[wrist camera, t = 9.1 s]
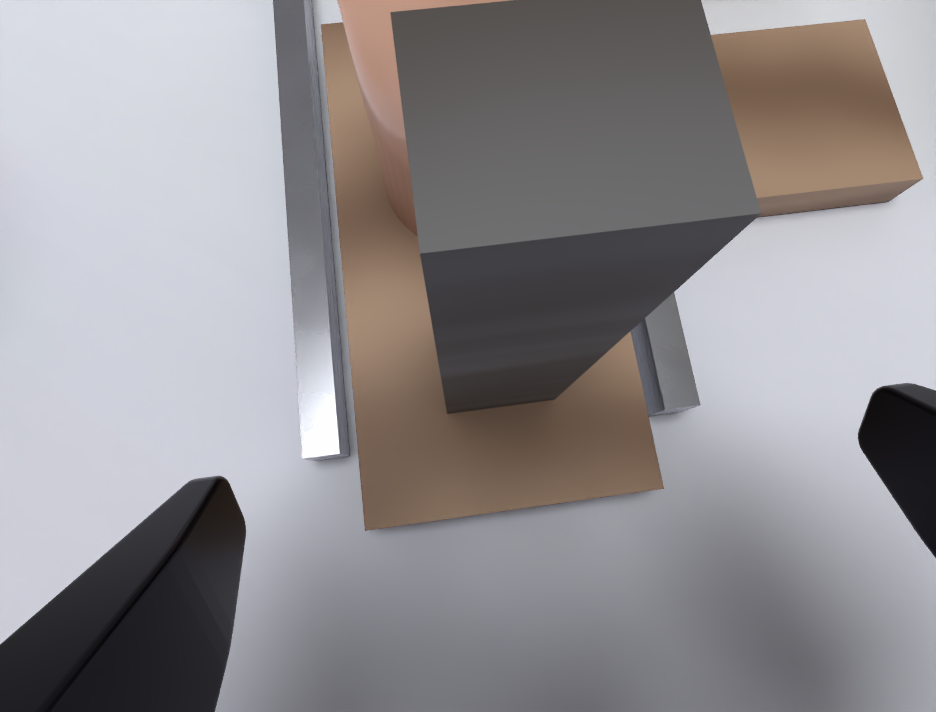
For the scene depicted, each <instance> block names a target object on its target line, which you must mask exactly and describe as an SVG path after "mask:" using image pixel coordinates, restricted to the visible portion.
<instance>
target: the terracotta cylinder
mask: <svg viewBox="0 0 936 712" xmlns="http://www.w3.org/2000/svg"><path fill="white" fill-rule="evenodd" d="M500 1H510V0H338V4H339V8H340V12H341V16H342V20H343V24H344V28H345V32H346V36H347V40H348V43H349V47H350V51H351V55H352V59H353V63H354V67H355V71H356V75H357V79H358V83H359V87H360V91H361V95H362V99H363V103H364V107H365V111H366V114H367V118H368V122H369V126H370V130H371V134H372V138H373V142H374V146H375V150H376V154H377V158H378V162H379V166H380V170H381V174H382V178H383V182H384V185H385V189H386V193H387V196H388V199H389V202H390V205H391V207H392V208H393V210H394V212H395V214H396V215H397V217H398V218H399V219H400V221H401V222H402V223H403V224H404V225H405V226H406V227H407V228H408V229H409V230H410V231H411V232H413V233H414V234H415V235H417V236H418V234H417V226H416V217H415V209H414V201H413V193H412V185H411V177H410V169H409V161H408V152H407V144H406V136H405V128H404V120H403V112H402V104H401V95H400V87H399V79H398V71H397V63H396V55H395V47H394V39H393V30H392V22H391V14H390V12H397V11H407V10H417V9H428V8H438V7H448V6H459V5H469V4H479V3H489V2H500Z"/></svg>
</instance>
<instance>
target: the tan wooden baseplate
mask: <svg viewBox="0 0 936 712" xmlns="http://www.w3.org/2000/svg"><path fill="white" fill-rule="evenodd" d="M390 14H391V22H392V30H393V39H394V47H395V55H396V63H397V71H398V79H399V87H400V95H401V104H402V112H403V120H404V128H405V136H406V144H407V152H408V161H409V169H410V177H411V185H412V193H413V201H414V209H415V217H416V226H417V234H418V236H417V235H415V234H414V233H413V232H411V231H410V230H409V229H408V228H407V227H406V226H405V225H404V224H403V223H402V222H401V221H400V219H399V218H398V217H397V215H396V214H395V212H394V210H393V208H392V207H391V205H390V202H389V199H388V196H387V193H386V189H385V185H384V182H383V178H382V174H381V170H380V166H379V162H378V158H377V154H376V150H375V146H374V142H373V138H372V134H371V130H370V126H369V122H368V118H367V114H366V111H365V107H364V103H363V99H362V95H361V91H360V87H359V83H358V79H357V75H356V71H355V67H354V63H353V59H352V55H351V51H350V47H349V43H348V40H347V36H346V32H345V28H344V24H343V22H342V23H332V24H322V25H321V30H322V42H323V53H324V65H325V76H326V88H327V99H328V111H329V122H330V134H331V145H332V157H333V168H334V179H335V191H336V202H337V214H338V225H339V237H340V248H341V260H342V271H343V283H344V294H345V306H346V317H347V329H348V340H349V352H350V363H351V375H352V386H353V398H354V409H355V421H356V432H357V444H358V455H359V467H360V478H361V490H362V501H363V513H364V524H365V531H367V530H374V529H381V528H388V527H395V526H402V525H409V524H416V523H423V522H430V521H437V520H444V519H452V518H459V517H466V516H473V515H480V514H487V513H494V512H501V511H508V510H515V509H522V508H529V507H537V506H544V505H551V504H558V503H565V502H572V501H579V500H586V499H593V498H600V497H607V496H614V495H622V494H629V493H636V492H643V491H650V490H657V489H664V487H663V483H662V478H661V473H660V468H659V464H658V459H657V454H656V449H655V445H654V440H653V435H652V431H651V426H650V421H649V416H648V412H647V407H646V402H645V397H644V393H643V388H642V383H641V378H640V374H639V369H638V364H637V360H636V355H635V350H634V345H633V341H632V336H631V330H632V329H633V328H635V327H636V326H637V325H638V324H639V323H640V322H641V321H642V320H643V319H645V318H646V317H647V316H648V315H649V314H650V313H651V312H652V311H653V310H655V309H656V308H657V307H658V306H659V305H660V304H661V303H662V302H663V301H664V300H666V299H667V298H668V297H669V296H670V295H671V294H672V293H673V292H674V291H676V290H677V289H678V288H679V287H680V286H681V285H682V284H683V283H684V282H686V281H687V280H688V279H689V278H690V277H691V276H692V275H693V274H694V273H696V272H697V271H698V270H699V269H700V268H701V267H702V266H703V265H704V264H706V263H707V262H708V261H709V260H710V259H711V258H712V257H713V256H714V255H715V254H717V253H718V252H719V251H720V250H721V249H722V248H723V247H724V246H725V245H727V244H728V243H729V242H730V241H731V240H732V239H733V238H734V237H735V236H737V235H738V234H739V233H740V232H741V231H742V230H743V229H744V228H745V227H747V226H748V225H749V224H750V223H751V222H752V221H753V220H754V219H755V218H757V217H758V216H759V215H760V214H761V211H760V207H759V204H758V200H757V197H756V193H755V190H754V186H753V183H752V179H751V176H750V172H749V169H748V165H747V162H746V158H745V154H744V151H743V147H742V144H741V140H740V137H739V133H738V130H737V126H736V123H735V119H734V116H733V112H732V109H731V105H730V102H729V98H728V94H727V91H726V87H725V84H724V80H723V77H722V73H721V70H720V66H719V63H718V59H717V56H716V52H715V49H714V45H713V42H712V38H711V35H710V31H709V27H708V24H707V20H706V17H705V13H704V10H703V6H702V3H701V0H510V1H500V2H489V3H479V4H469V5H459V6H448V7H438V8H428V9H417V10H407V11H397V12H390Z"/></svg>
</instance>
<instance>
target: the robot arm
mask: <svg viewBox="0 0 936 712" xmlns="http://www.w3.org/2000/svg"><path fill="white" fill-rule="evenodd" d="M858 441H859V445H860V447H861V449H862V451H863V453H864V454H865V456H866V457H867V459H868V460H869V462H870V463H871V465H872V466H873V468H874V469H875V471H876V472H877V474H878V475H879V477H880V478H881V480H882V481H883V483H884V484H885V486H886V487H887V489H888V490H889V492H890V493H891V495H892V496H893V498H894V499H895V501H896V502H897V504H898V505H899V507H900V508H901V510H902V511H903V513H904V514H905V516H906V517H907V519H908V520H909V522H910V523H911V525H912V526H913V528H914V529H915V531H916V532H917V533H918V535H919V536H920V538H921V539H922V541H923V542H924V543H925V545H926V546H927V547H928V549H929V550H930V551H931V552H932V554H933V555H934V556H935V558H936V391H935V390H932V389H929V388H926V387H922V386H919V385H916V384H911V383H903V384H895V385H888V386H882V387H880V388H877V389H876V390H875V391H874V392H873V394H872V396H871V398H870V401H869V404H868V406H867V409H866V412H865V415H864V417H863V420H862V423H861V426H860V428H859V432H858ZM245 537H246V526H245V520H244V517H243V514H242V512H241V510H240V507H239V505H238V503H237V500H236V498H235V495H234V493H233V491H232V488H231V486H230V484H229V482H228V480H227V479H226V478H224V477H222V476H213V477H206V478H198V479H194V480H191V481H189V482H188V483H187V484H185V485H184V486H183V487H182V488H181V489H180V490H178V491H177V492H176V493H175V494H174V495H173V496H171V497H170V498H169V499H168V500H167V501H166V502H165V503H163V504H162V505H161V506H160V507H159V508H158V509H156V510H155V511H154V512H153V513H152V514H151V515H149V516H148V517H147V518H146V519H145V520H144V521H143V522H141V523H140V524H139V525H138V526H137V527H136V528H134V529H133V530H132V531H131V532H130V533H129V534H128V535H126V536H125V537H124V538H123V539H122V540H121V541H119V542H118V543H117V544H116V545H115V546H114V547H112V548H111V549H110V550H109V551H108V552H107V553H106V554H104V555H103V556H102V557H101V558H100V559H99V560H97V561H96V562H95V563H94V564H93V565H92V566H91V567H89V568H88V569H87V570H86V571H85V572H84V573H82V574H81V575H80V576H79V577H78V578H77V579H75V580H74V581H73V582H72V583H71V584H70V585H69V586H67V587H66V588H65V589H64V590H63V591H62V592H60V593H59V594H58V595H57V596H56V597H55V598H54V599H52V600H51V601H50V602H49V603H48V604H47V605H45V606H44V607H43V608H42V609H41V610H40V611H38V612H37V613H36V614H35V615H34V616H33V617H32V618H30V619H29V620H28V621H27V622H26V623H25V624H23V625H22V626H21V627H20V628H19V629H18V630H17V631H15V632H14V633H13V634H12V635H11V636H10V637H8V638H7V639H6V640H5V641H4V642H3V643H1V644H0V712H215V709H216V705H217V701H218V697H219V693H220V688H221V684H222V680H223V676H224V672H225V668H226V664H227V659H228V655H229V650H230V645H231V639H232V633H233V626H234V619H235V612H236V604H237V597H238V589H239V582H240V575H241V567H242V560H243V552H244V545H245Z"/></svg>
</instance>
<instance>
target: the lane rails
mask: <svg viewBox="0 0 936 712" xmlns="http://www.w3.org/2000/svg"><path fill="white" fill-rule="evenodd" d="M273 6H274V22H275V38H276V53H277V69H278V85H279V101H280V116H281V132H282V148H283V164H284V179H285V195H286V211H287V227H288V242H289V258H290V274H291V290H292V305H293V321H294V337H295V353H296V368H297V384H298V400H299V416H300V431H301V447H302V459H308V460H313V461H319V460H326V459H333V458H341V457H348V456H350V453H349V441H348V429H347V417H346V405H345V393H344V381H343V369H342V357H341V345H340V333H339V321H338V309H337V297H336V285H335V273H334V261H333V249H332V237H331V225H330V213H329V201H328V189H327V177H326V165H325V153H324V141H323V129H322V117H321V105H320V93H319V81H318V69H317V57H316V45H315V33H314V21H313V9H312V0H273ZM631 336H632V341H633V345H634V350H635V355H636V360H637V364H638V369H639V374H640V378H641V383H642V388H643V393H644V397H645V402H646V407H647V412H648V416H653V415H660V414H668V413H675V412H681V411H684V410H687V409H690V408H693V407H696V406H699V405H700V402H699V397H698V393H697V389H696V385H695V380H694V376H693V372H692V367H691V363H690V359H689V355H688V350H687V346H686V342H685V338H684V333H683V329H682V325H681V321H680V316H679V312H678V308H677V303H676V299H675V295H674V292H673V293H672V294H671V295H670V296H669V297H668V298H667V299H666V300H664V301H663V302H662V303H661V304H660V305H659V306H658V307H657V308H656V309H655V310H653V311H652V312H651V313H650V314H649V315H648V316H647V317H646V318H645V319H643V320H642V321H641V322H640V323H639V324H638V325H637V326H636V327H635V328H633V329H632V330H631Z"/></svg>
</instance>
